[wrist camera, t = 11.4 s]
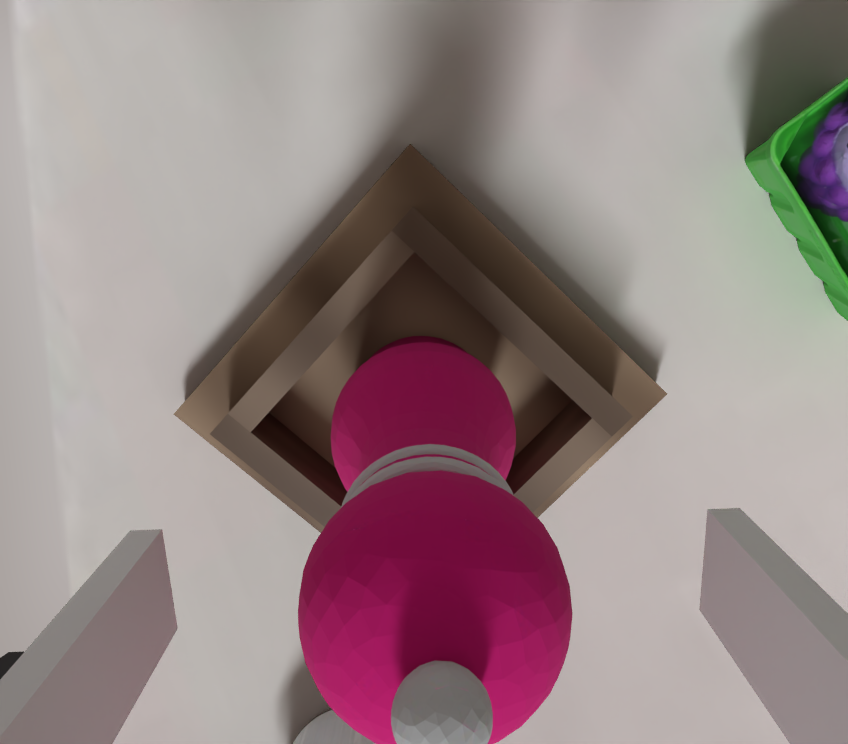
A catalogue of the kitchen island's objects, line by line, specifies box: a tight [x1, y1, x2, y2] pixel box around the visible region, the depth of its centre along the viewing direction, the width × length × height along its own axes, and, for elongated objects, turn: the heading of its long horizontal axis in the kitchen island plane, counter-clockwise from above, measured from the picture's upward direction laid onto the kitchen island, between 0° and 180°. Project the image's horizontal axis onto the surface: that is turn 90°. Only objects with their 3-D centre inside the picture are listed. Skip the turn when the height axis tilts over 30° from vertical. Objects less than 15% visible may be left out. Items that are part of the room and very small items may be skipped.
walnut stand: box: [174, 144, 667, 532], centre depth 29 cm, size 16×16×4 cm
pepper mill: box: [298, 336, 572, 744], centre depth 20 cm, size 7×7×20 cm
